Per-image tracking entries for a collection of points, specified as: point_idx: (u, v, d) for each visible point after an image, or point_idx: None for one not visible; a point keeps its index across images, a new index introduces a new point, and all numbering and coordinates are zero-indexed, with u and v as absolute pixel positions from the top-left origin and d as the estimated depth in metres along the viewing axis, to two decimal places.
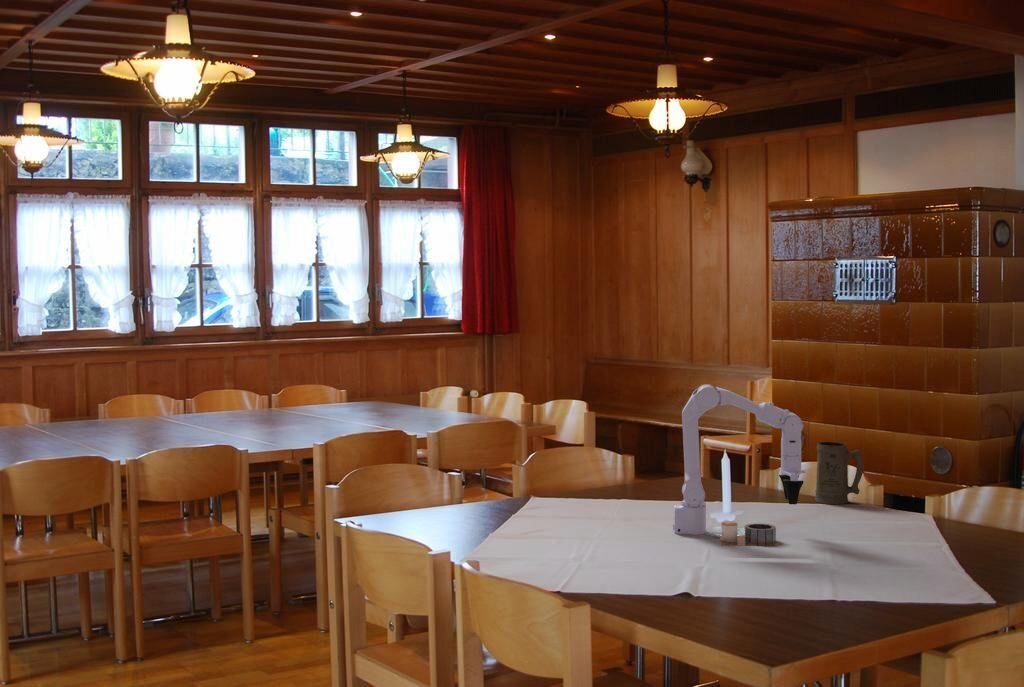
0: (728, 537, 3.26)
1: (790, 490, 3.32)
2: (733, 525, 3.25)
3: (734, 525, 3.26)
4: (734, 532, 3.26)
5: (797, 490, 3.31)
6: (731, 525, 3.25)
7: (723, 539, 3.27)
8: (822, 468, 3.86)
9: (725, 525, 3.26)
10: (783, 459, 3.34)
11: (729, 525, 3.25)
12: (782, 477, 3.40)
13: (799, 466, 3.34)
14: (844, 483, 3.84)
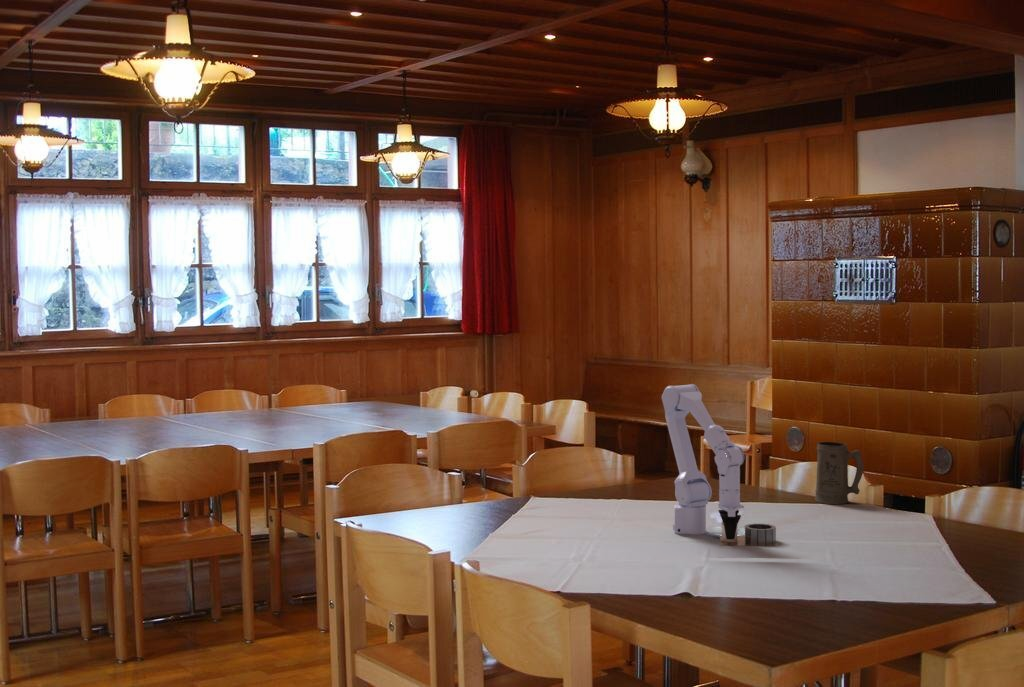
0: None
1: (727, 525, 3.25)
2: None
3: None
4: None
5: (734, 525, 3.24)
6: None
7: (723, 539, 3.27)
8: (822, 468, 3.86)
9: None
10: (721, 494, 3.26)
11: None
12: (721, 512, 3.30)
13: (737, 501, 3.25)
14: (844, 483, 3.84)
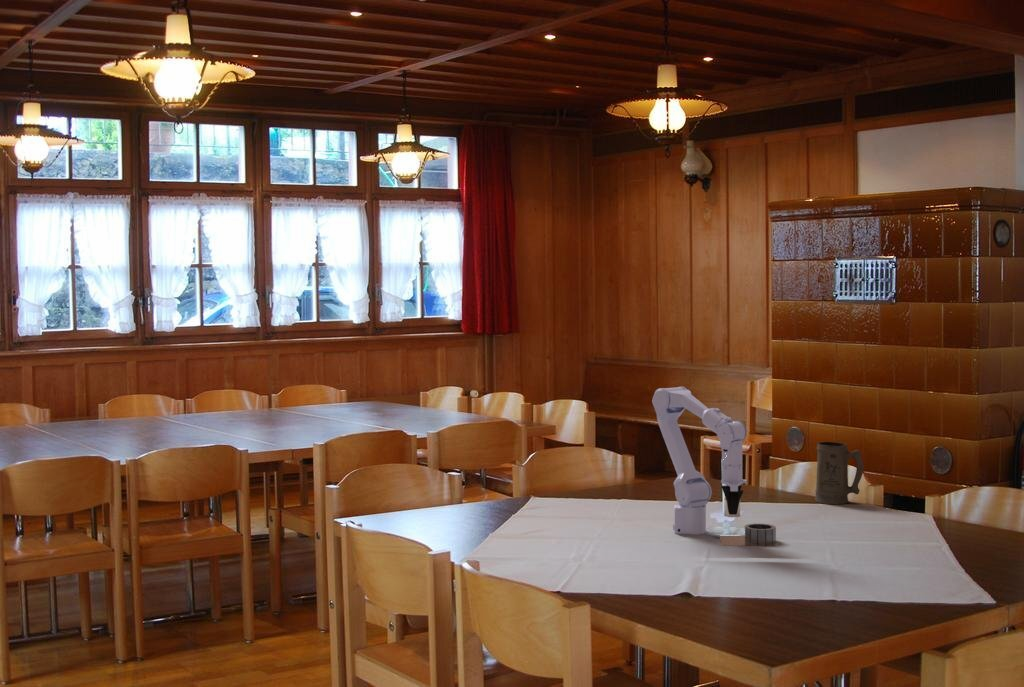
0: None
1: (730, 500, 3.24)
2: None
3: None
4: None
5: (737, 500, 3.24)
6: None
7: (726, 514, 3.26)
8: (822, 468, 3.86)
9: None
10: (723, 469, 3.25)
11: None
12: (724, 488, 3.30)
13: (740, 476, 3.25)
14: (844, 483, 3.84)
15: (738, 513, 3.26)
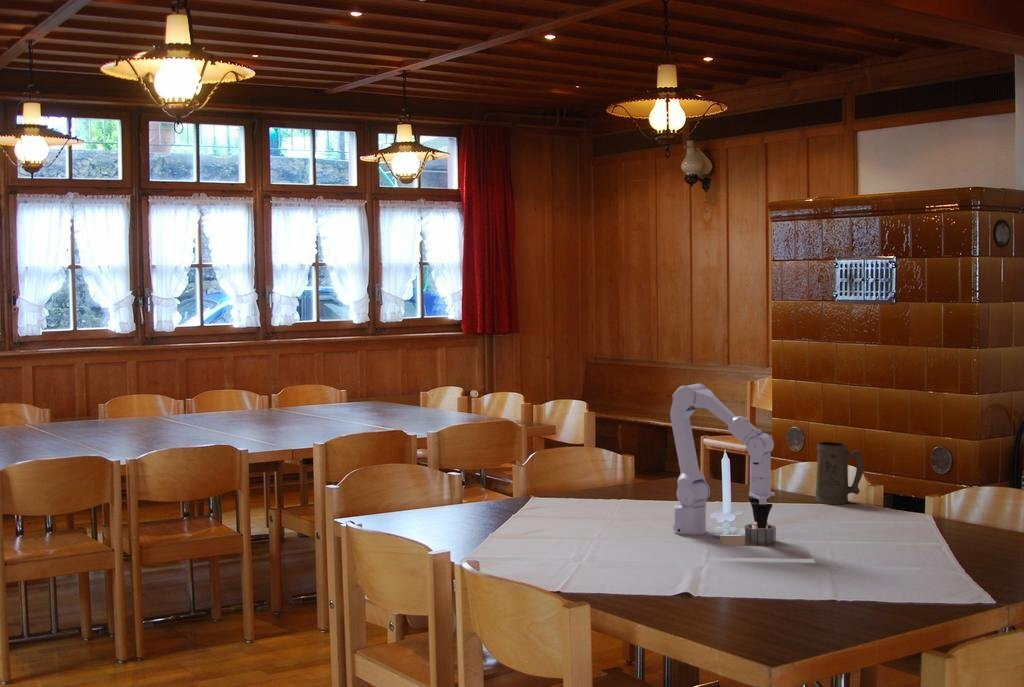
0: None
1: (759, 514, 3.22)
2: None
3: None
4: None
5: (766, 514, 3.22)
6: None
7: None
8: (822, 468, 3.86)
9: (756, 525, 3.25)
10: (752, 481, 3.25)
11: None
12: (751, 500, 3.30)
13: (768, 489, 3.24)
14: (844, 483, 3.84)
15: None
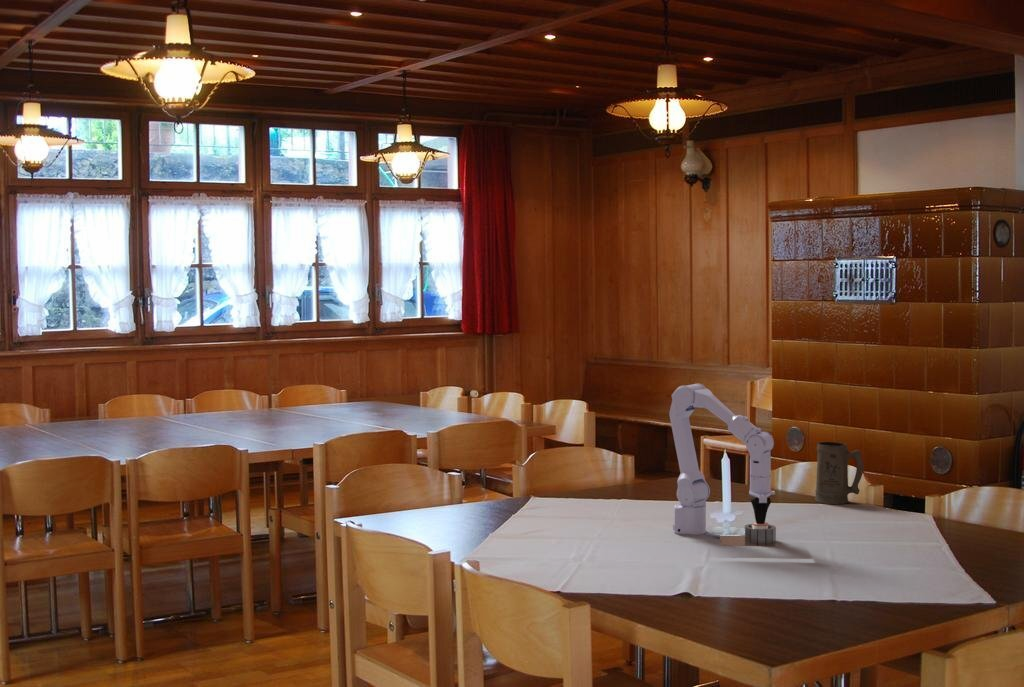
0: None
1: (757, 510, 3.26)
2: (764, 525, 3.25)
3: (765, 525, 3.25)
4: None
5: (764, 510, 3.25)
6: (762, 525, 3.25)
7: None
8: (822, 468, 3.86)
9: (756, 525, 3.25)
10: (752, 480, 3.25)
11: (760, 525, 3.25)
12: None
13: (768, 487, 3.24)
14: (844, 483, 3.84)
15: None
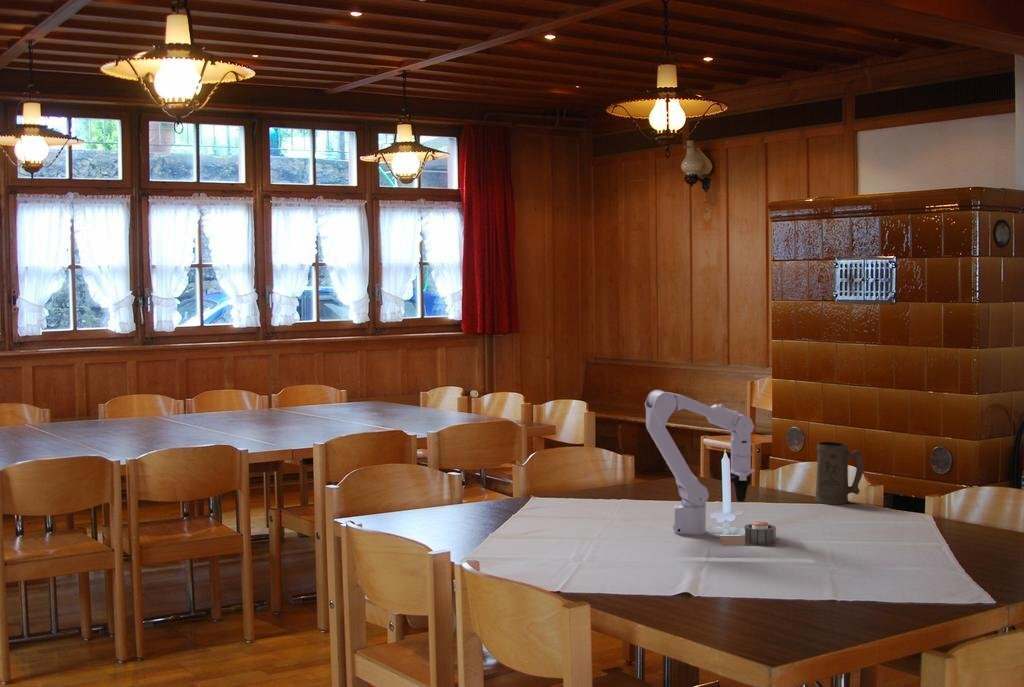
0: None
1: (738, 487, 3.41)
2: (764, 525, 3.25)
3: (765, 525, 3.25)
4: None
5: (745, 487, 3.40)
6: (762, 525, 3.25)
7: None
8: (822, 468, 3.86)
9: (756, 525, 3.25)
10: (733, 459, 3.40)
11: (760, 525, 3.25)
12: None
13: (748, 466, 3.39)
14: (844, 483, 3.84)
15: None
